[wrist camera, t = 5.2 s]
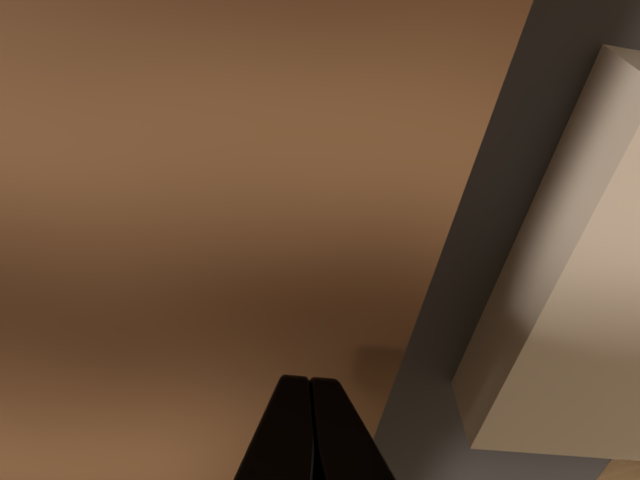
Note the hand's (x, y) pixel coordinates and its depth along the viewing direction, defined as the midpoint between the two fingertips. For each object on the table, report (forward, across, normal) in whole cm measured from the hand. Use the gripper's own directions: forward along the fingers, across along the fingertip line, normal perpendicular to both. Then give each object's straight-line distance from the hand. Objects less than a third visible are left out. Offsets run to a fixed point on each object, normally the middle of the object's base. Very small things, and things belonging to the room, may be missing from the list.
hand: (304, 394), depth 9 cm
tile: (+3, -8, 0) cm, 8 cm away
